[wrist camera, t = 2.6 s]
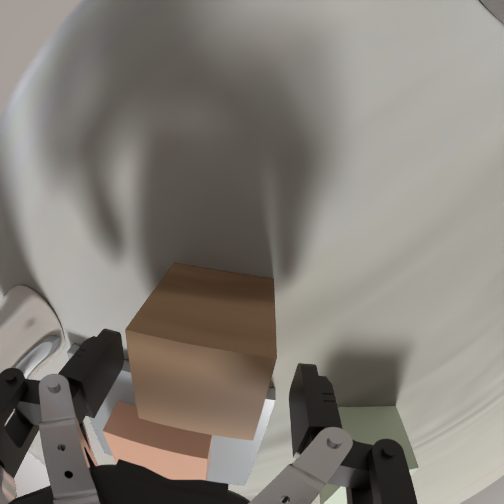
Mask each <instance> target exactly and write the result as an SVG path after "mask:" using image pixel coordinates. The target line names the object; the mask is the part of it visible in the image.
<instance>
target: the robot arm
mask: <svg viewBox="0 0 504 504" xmlns="http://www.w3.org/2000/svg"><path fill="white" fill-rule="evenodd" d="M480 1H481V2H482V3H483V4H484V5H485V6H486V8H487V9H488V10H489V11H491V12H492V13H493V14H494V15H495V16H496V17H497V19H499V20H500V21H501V22H502V23H503V24H504V0H480ZM123 364H124V354H123V347H122V339H121V334H120V332H117V331H113V330H109V329H103V330H102V331H101V333H100V334H99V335H98V336H97V337H94V336H93V337H91V338H89V339H87V340H86V341H84V342H83V344H82V345H81V346H80V347H79V350H77V351H76V352H75V353H74V355H73V356H72V357H71V358H70V360H69V361H68V362H67V363H66V365H65V366H64V367H63V368H62V370H61V371H60V372H59V373H58V374H50V375H47V376H45V377H44V378H42V379H41V381H38V380H31V379H25V376H24V374H23V372H22V371H21V370H19V369H17V368H7V369H5V370H3V371H2V372H1V373H0V504H311V503H312V502H313V500H314V499H315V498H316V497H317V495H318V494H319V493H320V492H321V490H322V489H323V488H324V486H325V485H326V483H328V484H333V485H337V486H342V487H346V495H347V504H417V500H416V495H415V491H414V487H413V483H412V479H411V476H410V472H409V468H408V464H407V461H406V457H405V454H404V450H403V448H402V446H401V445H400V444H399V443H398V442H396V441H394V440H392V439H381V440H378V441H377V442H376V443H375V444H374V445H371V444H366V443H361V442H357V441H355V440H353V439H352V438H351V436H350V434H349V433H348V432H346V431H345V430H343V428H342V424H341V419H340V415H339V411H338V407H337V402H336V398H335V395H334V390H333V386H332V384H331V383H330V381H329V380H328V379H327V378H326V376H318V372H317V367H316V365H314V364H301V363H299V364H298V366H297V369H296V372H295V375H294V378H293V381H292V384H291V388H290V393H289V406H290V419H291V433H292V448H293V458H297V459H296V460H295V461H294V462H293V463H292V464H289V465H288V466H287V467H286V468H285V469H284V470H283V471H282V472H281V473H280V474H279V475H278V476H277V477H276V478H275V479H274V480H273V481H272V482H271V483H270V484H269V485H268V486H266V487H265V488H264V489H263V490H262V491H261V492H260V493H259V494H258V495H257V496H256V497H255V498H254V499H252V500H251V501H249V500H248V499H246V498H245V497H243V496H241V495H239V494H237V493H235V492H232V491H230V490H228V484H227V483H219V482H212V481H206V480H171V479H168V478H166V477H163V476H161V475H159V474H157V473H155V472H153V471H151V470H149V469H147V468H146V467H143V466H140V465H137V464H133V463H130V462H127V461H124V460H121V459H118V462H117V464H116V465H100V466H98V464H97V462H96V460H95V457H94V455H93V452H92V449H91V445H90V442H89V439H88V436H87V432H86V429H85V425H84V422H83V420H84V418H85V416H89V417H91V418H95V416H96V415H97V413H98V411H99V409H100V407H101V405H102V404H103V402H104V400H105V398H106V397H107V395H108V393H109V391H110V389H111V388H112V386H113V384H114V382H115V381H116V379H117V377H118V376H119V374H120V372H121V370H122V368H123ZM13 411H14V413H13V415H12V416H11V418H10V419H9V421H8V422H7V424H6V421H7V420H8V418H9V417H10V415H11V414H12V412H13ZM5 424H6V426H5ZM39 430H40V437H41V443H42V449H43V454H44V459H45V464H46V468H47V472H48V476H49V481H50V486H48V487H45V488H43V489H40V490H37V491H35V492H32V493H29V494H26V495H24V496H21V497H18V498H16V496H17V493H16V484H15V481H14V477H15V475H16V473H17V471H18V469H19V467H20V465H21V463H22V461H23V459H24V457H25V455H26V453H27V451H28V449H29V447H30V445H31V444H32V442H33V440H34V438H35V436H36V434H37V432H38V431H39Z"/></svg>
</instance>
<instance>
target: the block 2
mask: <svg viewBox="0 0 504 504" xmlns="http://www.w3.org/2000/svg"><path fill="white" fill-rule="evenodd" d="M338 411H339V415H340V419H341V424H342V428H343V430H345V431H346V432H348V433H349V434H350V436H351V438H352V439H353V440H355V441H357V442H361V443H366V444H371V445H374V444H375V443H376V442H377V441H378V440H381V439H392V440H394V441H396V442H398V443H399V444H400V445H401V446H402V448H403V450H404V454H405V457H406V461H407V464H408V468H409V472H410V475H412V474H413V473H414V472H415V471H416V470H417V469H418V468H419V467H418V464H417V461H416V458H415V456H414V453H413V450H412V447H411V444H410V442H409V439H408V436H407V434H406V431H405V428H404V426H403V423H402V420H401V418H400V415H399V413H398V410H397V408H396V406H379V407H338ZM320 504H347V495H346V487H342V486H337V485H333V484H328V483H326V485H325V486H324V488H323V489H322V490H321V492H320Z"/></svg>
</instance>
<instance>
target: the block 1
mask: <svg viewBox="0 0 504 504" xmlns="http://www.w3.org/2000/svg"><path fill="white" fill-rule="evenodd" d="M125 330H126V340H127V348H128V356H129V364H130V371H131V377H132V383H133V389H134V395H135V401H136V406H137V411H138V416H139V418H140V419H144V420H147V421H151V422H155V423H158V424H162V425H166V426H171V427H175V428H179V429H184V430H189V431H193V432H199V433H204V434H209V435H215V436H222V437H228V438H235V439H243V440H252V441H253V439H254V436H255V433H256V430H257V426H258V423H259V419H260V416H261V413H262V409H263V406H264V402H265V399H266V395H267V392H268V388H269V385H270V381H271V377H272V374H273V370H274V366H275V363H276V359H277V349H276V320H275V295H274V279H271V278H264V277H258V276H251V275H245V274H238V273H232V272H226V271H220V270H213V269H207V268H201V267H195V266H189V265H183V264H177V263H174V264H173V265H172V267H171V268H170V269H169V271H168V272H167V273H166V275H165V276H164V277H163V279H162V280H161V281H160V283H159V284H158V285H157V287H156V288H155V289H154V291H153V292H152V293H151V295H150V296H149V297H148V299H147V300H146V302H145V303H144V304H143V306H142V307H141V308H140V310H139V311H138V313H137V314H136V315H135V317H134V318H133V319H132V321H131V322H130V324H129V325H128V326H127V328H126V329H125Z"/></svg>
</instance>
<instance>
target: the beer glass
mask: <svg viewBox="0 0 504 504" xmlns="http://www.w3.org/2000/svg"><path fill="white" fill-rule="evenodd" d="M63 347H64V335H63V331H62V328H61V325H60V322H59V320H58V318H57V316H56V315H55V313H54V311H53V310H52V308H51V307H50V306H49V304H48V303H47V302H46V301H45V300H44V299H43V298H42V297H41V296H40V295H39V294H38V293H37V292H35V291H34V290H32V289H30V288H28V287H26V286H22V285H18V286H15V287H13V288H12V289H11V290H10V291H9V292H8V293H7V294H6V295H5V296H4V297H3V299H2V300H1V301H0V373H1V372H2V371H3V370H5V369H7V368H17V369H19V370H21V371H22V372H23V374H24V376H25V379H32V378H33V376H34V375H35V374H36V373H37V372H38V371H39V370H40V369H41V368H42V367H44V366H45V365H46V364H48V363H49V362H50V361H52V360H53V359H55V358H56V357H57V356H58V355H59V354H60V353H61V352H62V350H63ZM13 413H14V411H13V412H12V414H11V415H10V417H9V418H8V420H7V421H6V424H7V422H8V421H9V419H10V418H11V416H12V415H13ZM6 424H5V426H6Z"/></svg>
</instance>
